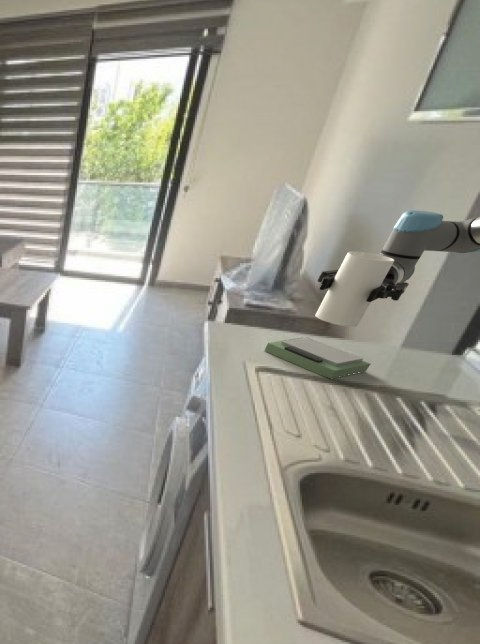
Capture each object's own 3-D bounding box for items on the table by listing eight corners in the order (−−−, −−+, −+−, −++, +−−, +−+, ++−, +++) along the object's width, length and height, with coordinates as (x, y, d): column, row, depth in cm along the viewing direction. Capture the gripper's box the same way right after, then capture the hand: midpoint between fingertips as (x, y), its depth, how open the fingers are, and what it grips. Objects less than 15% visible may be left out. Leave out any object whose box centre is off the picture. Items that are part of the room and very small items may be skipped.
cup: (354, 318, 120) (389, 255, 112) (361, 329, 114) (399, 263, 106) (313, 311, 124) (344, 249, 116) (317, 320, 118) (351, 256, 110)
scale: (365, 371, 120) (372, 360, 118) (330, 379, 115) (336, 367, 114) (298, 345, 133) (303, 334, 131) (264, 350, 128) (269, 340, 127)
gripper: (425, 304, 118) (397, 320, 106) (321, 279, 133) (287, 291, 122) (443, 274, 114) (416, 288, 103) (335, 252, 129) (301, 262, 118)
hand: (346, 290), depth 112 cm, fingers closed on cup, 8 cm apart
